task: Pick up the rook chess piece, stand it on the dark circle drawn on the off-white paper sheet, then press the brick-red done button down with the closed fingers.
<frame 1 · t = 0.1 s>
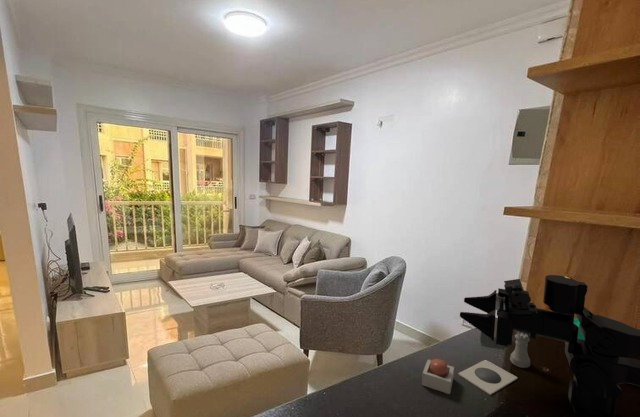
hand: (462, 306, 74), 17 cm above the kitchen counter, tool horizontal, fingers open, 9 cm apart
rook chess piece: (519, 364, 79), on the kitchen counter
button housing: (437, 381, 72), on the kitchen counter
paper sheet: (487, 376, 74), on the kitchen counter
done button: (438, 368, 72), point 3 cm above the kitchen counter, slide at 0.0 cm
candle: (581, 362, 80), on the kitchen counter
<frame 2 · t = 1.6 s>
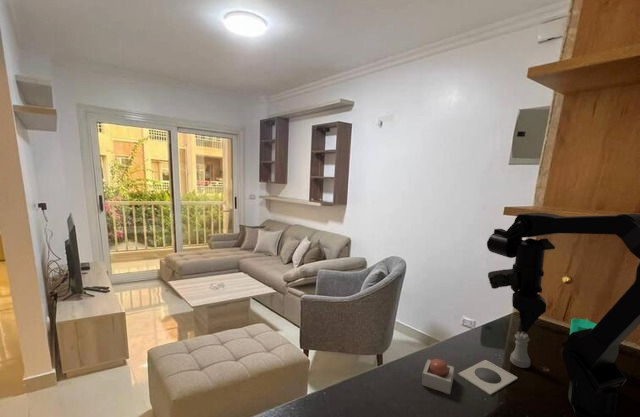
hand: (523, 323, 78), 11 cm above the kitchen counter, tool pointing down, fingers open, 9 cm apart
nothing on the kitchen counter moved.
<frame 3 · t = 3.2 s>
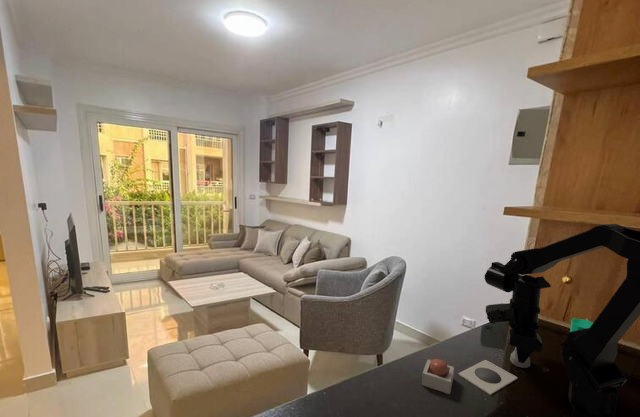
hand: (520, 357, 79), 2 cm above the kitchen counter, tool pointing down, fingers closed on rook chess piece, 4 cm apart
rook chess piece: (519, 364, 79), on the kitchen counter, touching gripper
everything else where it was.
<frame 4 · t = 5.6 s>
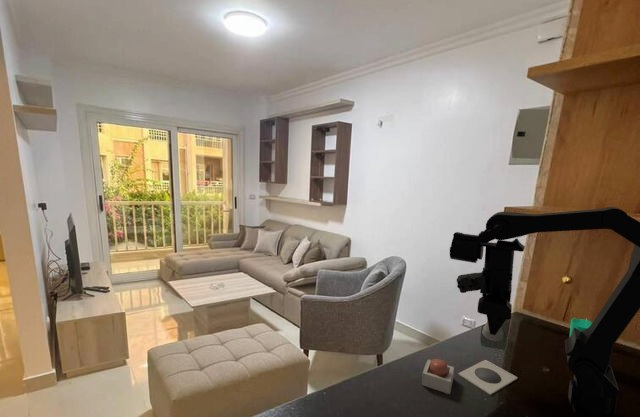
hand: (493, 329, 73), 12 cm above the kitchen counter, tool pointing down, fingers closed on rook chess piece, 4 cm apart
rook chess piece: (492, 337, 73), point 10 cm above the kitchen counter, touching gripper
everything else where it was.
when the fingers open (3 cm above the kitchen counter, at t = 7.9 s): rook chess piece drops 1 cm, resting on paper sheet.
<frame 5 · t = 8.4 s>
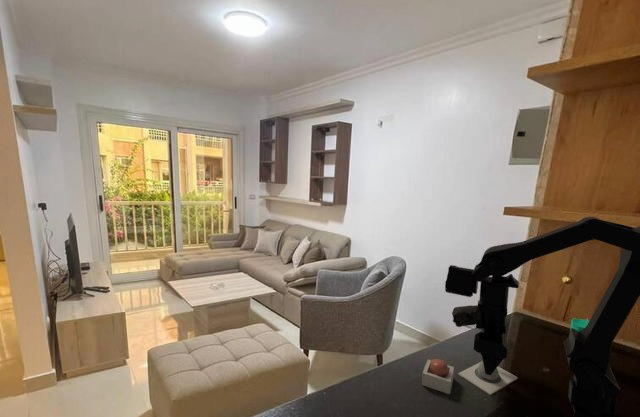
hand: (488, 363, 73), 3 cm above the kitchen counter, tool pointing down, fingers open, 9 cm apart
rook chess piece: (487, 375, 74), resting on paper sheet
everything else where it was.
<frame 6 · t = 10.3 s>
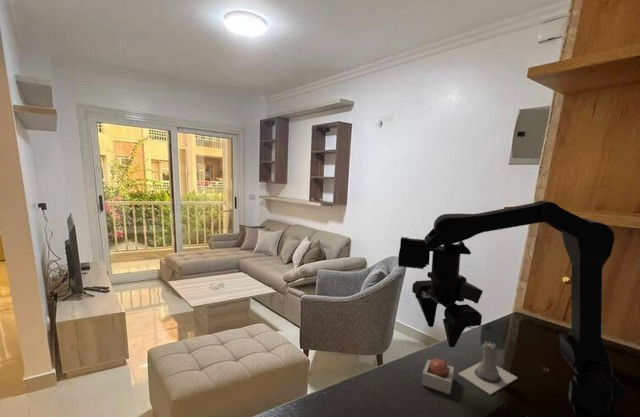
hand: (440, 336, 71), 11 cm above the kitchen counter, tool pointing down, fingers open, 8 cm apart
nothing on the kitchen counter moved.
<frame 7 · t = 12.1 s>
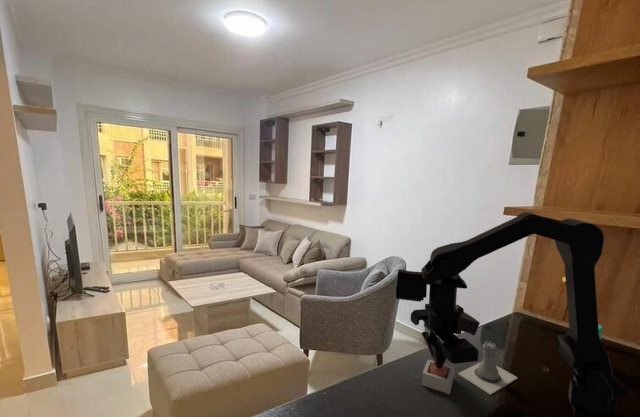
hand: (438, 367, 72), 4 cm above the kitchen counter, tool pointing down, fingers closed, pressing on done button
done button: (438, 371, 72), point 3 cm above the kitchen counter, slide at 0.9 cm, touching gripper
everything else where it was.
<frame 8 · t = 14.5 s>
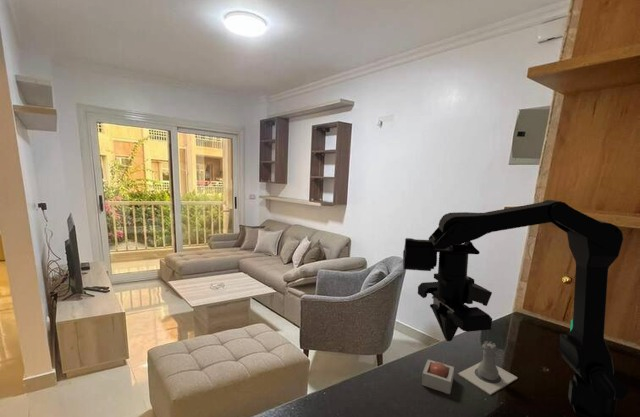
hand: (448, 340, 68), 12 cm above the kitchen counter, tool pointing down, fingers closed
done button: (438, 372, 72), point 2 cm above the kitchen counter, slide at 0.9 cm
everything else where it was.
at the end: rook chess piece 0.0 cm off-centre on the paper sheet, point 0.2 cm above the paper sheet's base; rook chess piece tilted 0°; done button slide at 0.9 cm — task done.
